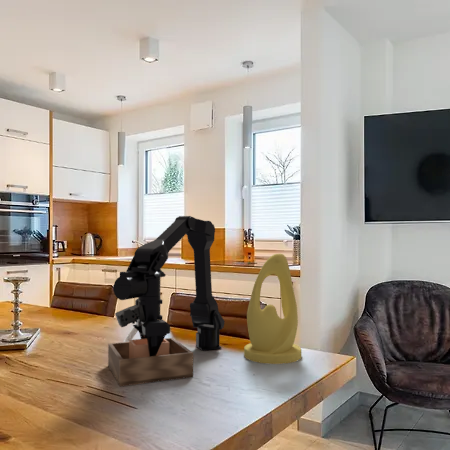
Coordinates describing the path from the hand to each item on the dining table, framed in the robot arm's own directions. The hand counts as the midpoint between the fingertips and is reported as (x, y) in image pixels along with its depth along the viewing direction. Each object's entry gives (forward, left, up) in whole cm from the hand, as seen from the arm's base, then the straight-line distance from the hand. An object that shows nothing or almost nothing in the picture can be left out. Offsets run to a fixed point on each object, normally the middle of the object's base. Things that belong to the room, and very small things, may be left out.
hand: (149, 355), depth 117 cm
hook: (+2, -17, -4) cm, 18 cm away
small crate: (0, 0, -1) cm, 1 cm away
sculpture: (-37, -1, -4) cm, 37 cm away
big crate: (0, 0, -4) cm, 4 cm away
